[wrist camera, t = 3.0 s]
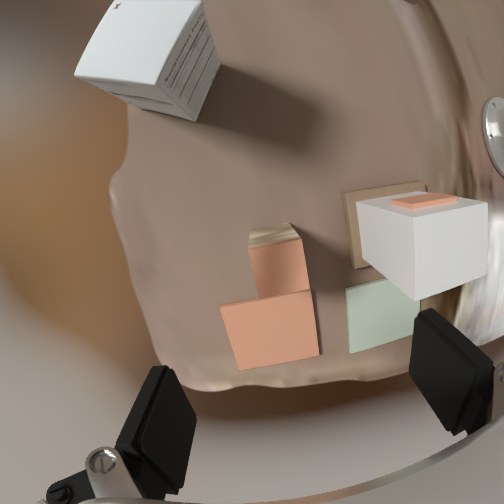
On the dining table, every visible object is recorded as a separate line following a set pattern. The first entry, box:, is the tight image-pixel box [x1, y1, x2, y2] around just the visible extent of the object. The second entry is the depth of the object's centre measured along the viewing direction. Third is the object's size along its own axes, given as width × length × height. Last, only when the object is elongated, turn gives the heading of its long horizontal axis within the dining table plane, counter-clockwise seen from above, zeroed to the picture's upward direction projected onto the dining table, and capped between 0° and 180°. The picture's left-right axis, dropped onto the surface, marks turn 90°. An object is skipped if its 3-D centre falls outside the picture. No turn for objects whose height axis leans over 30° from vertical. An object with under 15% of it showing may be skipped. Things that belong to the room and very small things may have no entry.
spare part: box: [248, 223, 310, 299], centre depth 24 cm, size 4×4×8 cm
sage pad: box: [345, 278, 420, 354], centre depth 30 cm, size 10×9×1 cm
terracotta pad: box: [220, 289, 319, 370], centre depth 31 cm, size 10×9×1 cm
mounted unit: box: [341, 181, 488, 301], centre depth 22 cm, size 10×8×12 cm
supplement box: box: [74, 0, 220, 122], centre depth 18 cm, size 7×7×13 cm
